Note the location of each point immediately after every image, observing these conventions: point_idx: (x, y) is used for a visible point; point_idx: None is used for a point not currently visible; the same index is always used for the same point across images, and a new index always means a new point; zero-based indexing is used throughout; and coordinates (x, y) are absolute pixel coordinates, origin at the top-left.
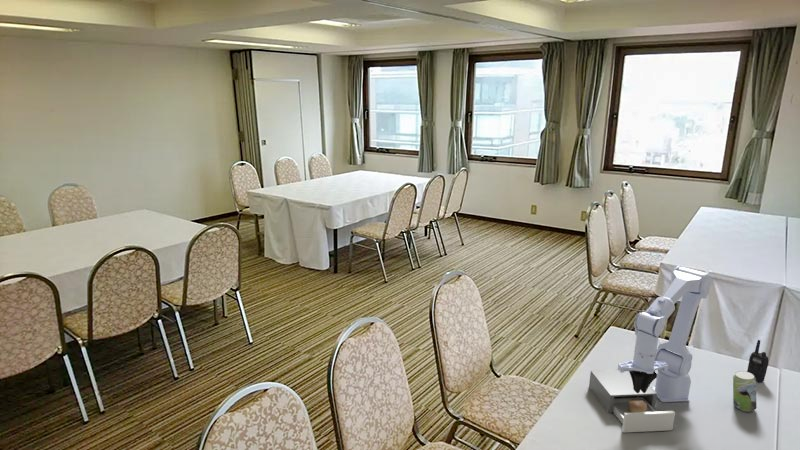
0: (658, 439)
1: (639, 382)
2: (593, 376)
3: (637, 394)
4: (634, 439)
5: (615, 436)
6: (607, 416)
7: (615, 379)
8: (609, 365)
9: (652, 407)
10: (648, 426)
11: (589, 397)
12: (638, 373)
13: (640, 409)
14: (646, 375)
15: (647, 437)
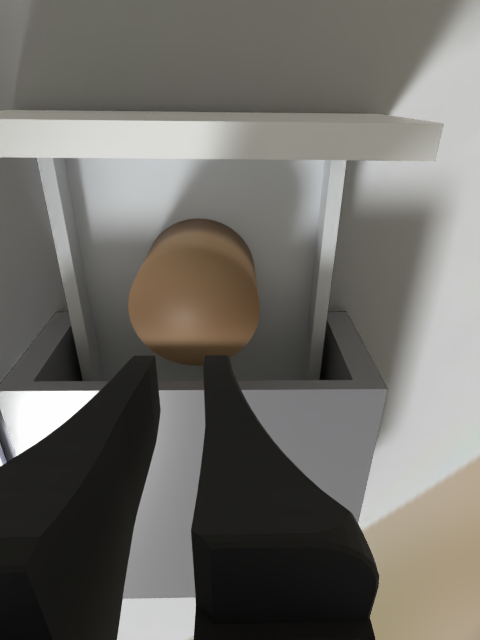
0: (155, 16)
1: (241, 444)
2: None
3: (163, 389)
4: (338, 33)
5: (453, 83)
6: (370, 285)
7: None
8: (137, 603)
9: (62, 325)
10: (193, 113)
11: None
12: (259, 622)
13: (205, 247)
14: (85, 568)
15: (228, 49)
